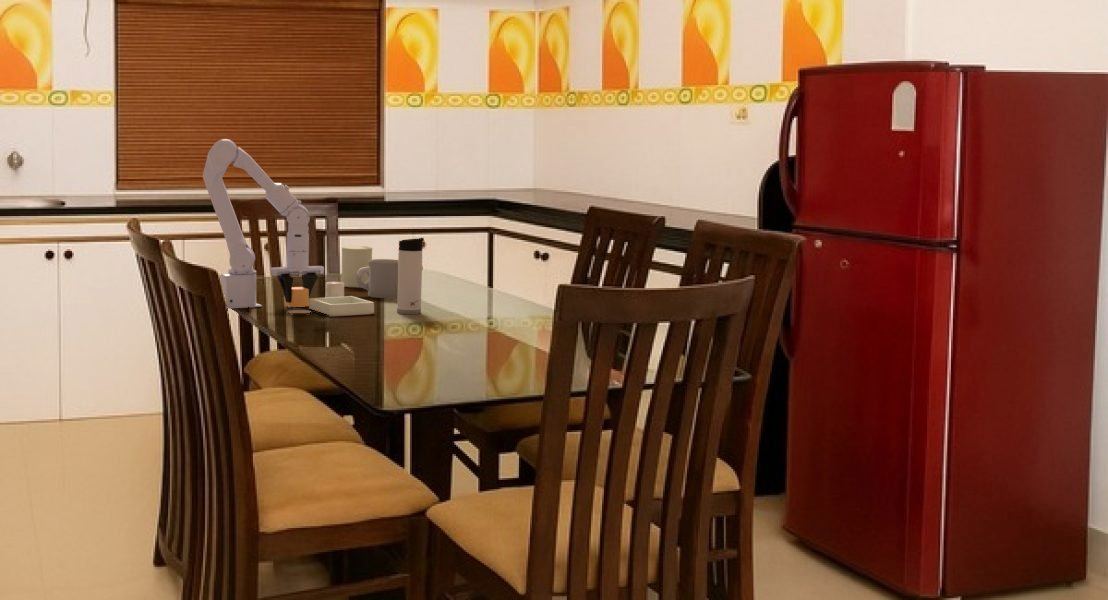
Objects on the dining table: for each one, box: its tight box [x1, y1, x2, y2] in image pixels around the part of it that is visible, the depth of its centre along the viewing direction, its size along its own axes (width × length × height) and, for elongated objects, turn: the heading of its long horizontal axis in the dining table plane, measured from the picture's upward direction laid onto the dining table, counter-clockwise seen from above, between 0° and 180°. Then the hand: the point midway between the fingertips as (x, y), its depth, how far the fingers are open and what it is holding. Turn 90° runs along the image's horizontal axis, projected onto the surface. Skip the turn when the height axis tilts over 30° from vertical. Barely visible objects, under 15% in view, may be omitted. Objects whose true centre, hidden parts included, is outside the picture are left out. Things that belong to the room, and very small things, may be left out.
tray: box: [308, 295, 375, 317], centre depth 363 cm, size 13×13×3 cm
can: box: [340, 245, 373, 288], centre depth 416 cm, size 9×9×12 cm
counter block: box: [285, 286, 309, 307], centre depth 369 cm, size 4×4×5 cm
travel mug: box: [396, 237, 425, 315], centre depth 365 cm, size 6×7×20 cm
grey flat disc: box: [287, 309, 312, 313], centre depth 359 cm, size 6×6×1 cm
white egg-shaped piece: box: [324, 281, 345, 298], centre depth 375 cm, size 5×5×6 cm
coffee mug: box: [356, 258, 398, 299], centre depth 396 cm, size 13×10×10 cm
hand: (297, 301), depth 369 cm, fingers closed on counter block, 4 cm apart
